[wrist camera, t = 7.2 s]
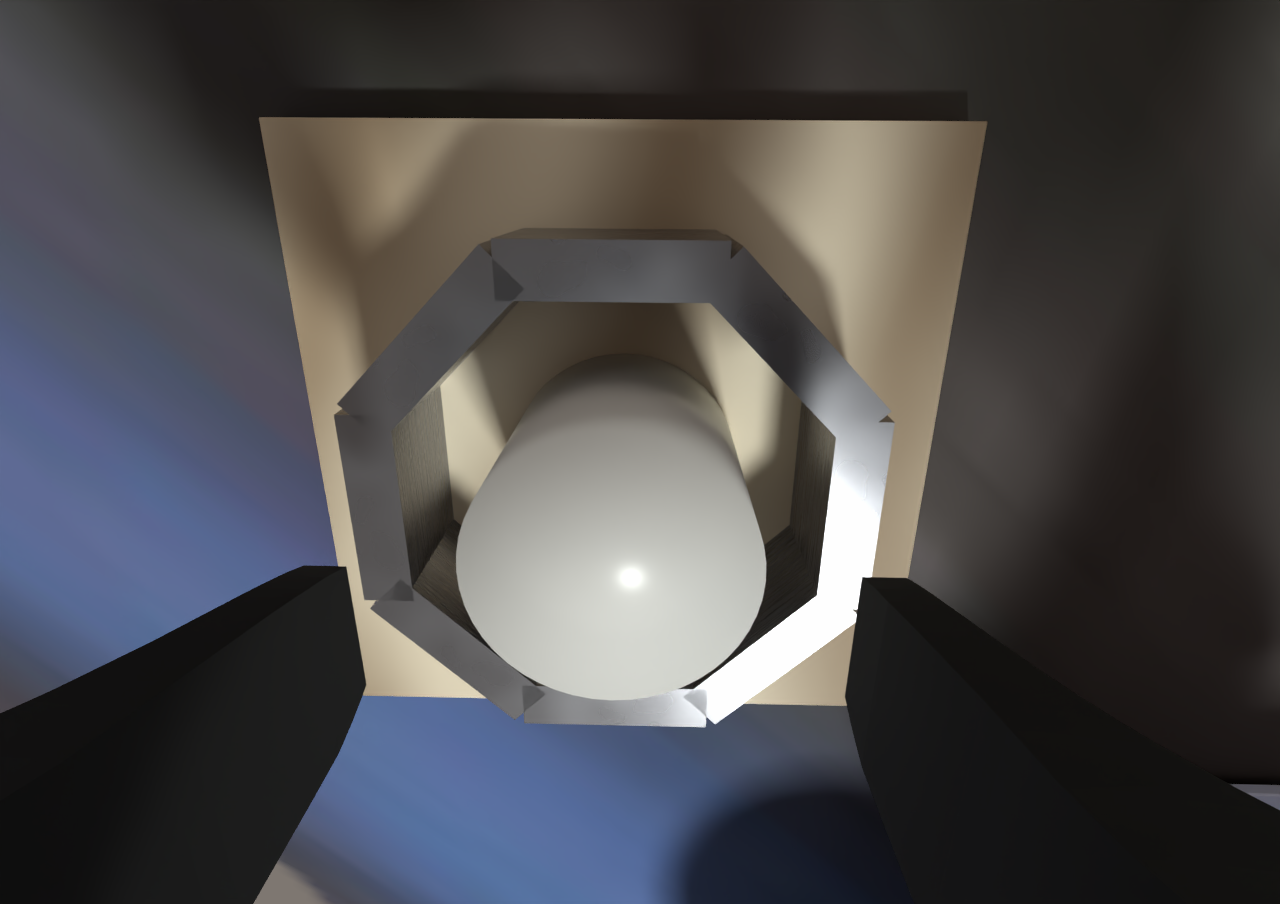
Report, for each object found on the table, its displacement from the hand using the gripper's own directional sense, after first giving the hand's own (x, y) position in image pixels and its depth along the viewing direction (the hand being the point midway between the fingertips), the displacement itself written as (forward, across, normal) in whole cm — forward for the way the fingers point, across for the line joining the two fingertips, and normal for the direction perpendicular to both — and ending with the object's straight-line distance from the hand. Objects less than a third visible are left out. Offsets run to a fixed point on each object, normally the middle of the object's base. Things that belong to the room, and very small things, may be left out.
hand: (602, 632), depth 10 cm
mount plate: (+7, 0, 0) cm, 7 cm away
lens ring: (+7, 0, 0) cm, 7 cm away
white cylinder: (+6, 0, 0) cm, 6 cm away
